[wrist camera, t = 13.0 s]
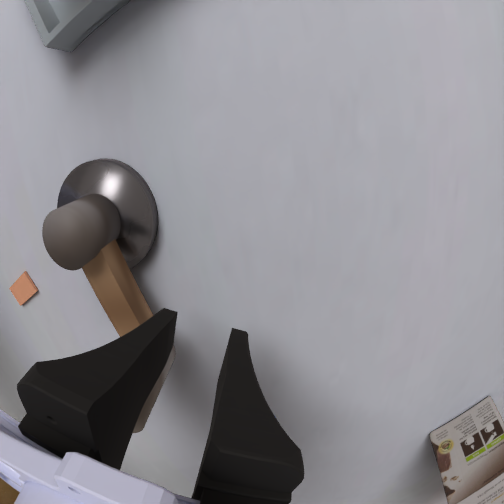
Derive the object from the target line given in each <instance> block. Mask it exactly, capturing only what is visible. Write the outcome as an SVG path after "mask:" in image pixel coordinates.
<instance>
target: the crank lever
mask: <svg viewBox="0 0 504 504" xmlns="http://www.w3.org/2000/svg"><path fill="white" fill-rule="evenodd" d="M120 228H121V222H120V216H119V213H118V211H117V209H116V207H115V205H114V204H113V203H112V202H111V201H110V200H109V199H108V198H107V197H105V196H103V195H101V194H89V195H87V196H84V197H82V198H80V199H77V200H75V201H73V202H71V203H68V204H66V205H64V206H62V207H59V208H57V209H55V210H53V211H51V212H50V213H49V214H48V215H47V217H46V218H45V220H44V223H43V230H42V234H43V241H44V244H45V247H46V250H47V252H48V253H49V255H50V257H51V258H52V259H53V260H54V261H55V262H56V263H57V264H58V265H59V266H61V267H63V268H65V269H67V270H78V269H80V268H82V269H83V271H84V273H85V275H86V277H87V279H88V281H89V282H90V284H91V286H92V288H93V290H94V292H95V294H96V296H97V298H98V299H99V301H100V303H101V305H102V307H103V308H104V310H105V312H106V314H107V315H108V317H109V319H110V321H111V322H112V324H113V326H114V327H115V329H116V331H117V332H118V334H119V336H120V337H121V336H123V335H125V334H127V333H128V332H130V331H132V330H133V329H135V328H136V327H138V326H139V325H141V324H142V323H144V322H145V321H147V320H148V319H149V318H151V317H152V316H153V314H152V312H151V310H150V308H149V306H148V304H147V303H146V301H145V299H144V297H143V295H142V293H141V291H140V289H139V287H138V285H137V283H136V281H135V279H134V277H133V275H132V273H131V271H130V269H129V267H128V265H127V263H126V261H125V259H124V257H123V255H122V253H121V250H120V248H119V246H118V244H117V242H116V239H117V238H118V236H119V233H120ZM175 355H176V352H175V348H174V345H173V348H172V350H171V353H170V355H169V358H168V360H167V363H166V365H165V367H164V369H163V371H162V373H161V374H160V376H159V378H158V380H157V382H156V383H155V385H154V387H153V389H152V391H151V392H150V394H149V396H148V398H147V400H146V402H145V404H144V406H143V408H142V410H141V412H140V415H139V417H138V420H137V422H136V425H135V428H134V430H133V433H137V432H140V431H142V430H143V428H144V426H145V424H146V422H147V419H148V417H149V415H150V412H151V410H152V408H153V406H154V403H155V401H156V399H157V397H158V395H159V392H160V390H161V388H162V386H163V383H164V381H165V379H166V377H167V375H168V372H169V370H170V368H171V366H172V364H173V361H174V359H175Z"/></svg>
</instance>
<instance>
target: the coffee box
mask: <svg viewBox="0 0 504 504" xmlns="http://www.w3.org/2000/svg"><path fill="white" fill-rule="evenodd" d="M430 439H431V443H432V446H433V449H434V453H435V456H436V460H437V463H438V467H439V470H440V474H441V478H442V482H443V486H444V489H445V493H446V497H447V501H448V504H504V421H503V419H502V417H501V415H500V413H499V411H498V409H497V407H496V405H495V403H494V402H493V400H492V398H491V396H488V397H487V398H485V399H484V400H482V401H481V402H480V403H478V404H477V405H475V406H474V407H472V408H471V409H469V410H468V411H466V412H465V413H463V414H462V415H460V416H458V417H457V418H455V419H453V420H452V421H450V422H448V423H447V424H445V425H443V426H441V427H440V428H438V429H436V430H434V431H432V432H431V433H430Z"/></svg>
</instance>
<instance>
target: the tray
mask: <svg viewBox="0 0 504 504" xmlns="http://www.w3.org/2000/svg"><path fill="white" fill-rule="evenodd" d="M129 1H130V0H25V2H26V5H27V7H28V10H29V12H30V14H31V17H32V19H33V21H34V23H35V26H36V28H37V30H38V32H39V34H40V37H41V39H42V41H43V43H44V45H45V47H48V48H53V49H58V50H63V51H67V52H71V51H72V50H73V49H75V48H76V47H77V46H78V45H79V44H80V43H81V42H82V41H83V40H84V39H85V38H86V37H87V36H88V35H89V34H90V33H92V32H93V31H94V30H95V29H96V28H97V27H98V26H99V25H101V24H102V23H103V22H104V21H105V20H107V19H108V18H109V17H110V16H111V15H113V14H114V13H115V12H116V11H118V10H119V9H120V8H121V7H123V6H124V5H125V4H126V3H128V2H129Z"/></svg>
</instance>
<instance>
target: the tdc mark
mask: <svg viewBox="0 0 504 504" xmlns="http://www.w3.org/2000/svg"><path fill="white" fill-rule="evenodd" d="M9 289H10V290H11V292H12V293H13V295H14V296H15V298H16V299H17V301H18V302H19V304H20V305H22V304H23V303H25V302H26V301H27V300H28V299H29V298H30V297H31V296H32V295H33V294H35V293H36V292H37V291H38V289H37V287H36V286H35V284H34V283H33V281H32V280H31V278H30V277H29V275H28V274H27V272H26V271H25V272H24V273H23V274H22V275H21V276H20V277H19V278H18V279H17V281H16V282H15V283H14V284H13V285H12V286H11V287H10V288H9Z"/></svg>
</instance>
